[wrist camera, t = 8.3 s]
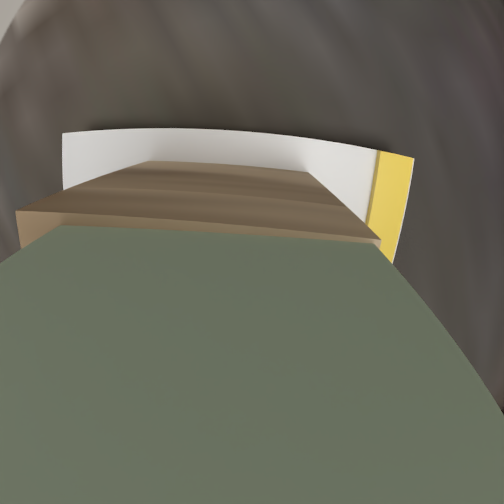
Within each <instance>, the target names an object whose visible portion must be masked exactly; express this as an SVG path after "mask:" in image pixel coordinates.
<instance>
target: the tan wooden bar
mask: <svg viewBox="0 0 504 504" xmlns="http://www.w3.org/2000/svg"><path fill="white" fill-rule="evenodd" d="M16 218H17V226H18V232H19V239H20V245H21V249H22V248H24V247H25V246H27V245H29V244H30V243H32V242H33V241H35V240H37V239H38V238H40V237H41V236H43V235H45V234H46V233H48V232H50V231H51V230H53V229H55V228H56V227H58V226H60V225H69V226H95V227H118V228H140V229H160V230H179V231H197V232H215V233H231V234H247V235H263V236H278V237H293V238H307V239H321V240H334V241H347V242H360V243H373V244H375V245H376V246H377V247H378V249H380V245H381V241H382V240H381V239H380V238H379V237H378V236H377V235H376V234H375V233H374V232H373V231H372V230H371V229H370V228H369V227H368V226H367V225H366V224H365V223H364V222H363V221H362V220H361V219H360V218H359V217H358V216H356V215H355V214H354V213H353V212H352V211H351V210H350V209H349V208H348V207H347V206H346V205H345V204H344V203H343V202H341V201H340V200H339V199H338V198H337V197H336V196H335V195H334V194H333V193H331V192H330V191H329V190H328V189H327V188H326V187H325V186H324V185H322V184H321V183H320V182H319V181H318V180H317V179H316V178H314V177H313V176H312V175H311V174H310V173H309V172H302V171H293V170H285V169H275V168H265V167H255V166H243V165H230V164H216V163H198V162H176V161H146V162H142V163H139V164H136V165H133V166H130V167H127V168H123V169H120V170H117V171H114V172H111V173H108V174H106V175H103V176H100V177H97V178H94V179H91V180H89V181H86V182H83V183H81V184H78V185H75V186H73V187H70V188H68V189H65V190H62V191H60V192H57V193H55V194H53V195H50V196H48V197H45V198H43V199H41V200H38V201H36V202H34V203H31V204H29V205H27V206H25V207H23V208H20V209H18V210H16Z"/></svg>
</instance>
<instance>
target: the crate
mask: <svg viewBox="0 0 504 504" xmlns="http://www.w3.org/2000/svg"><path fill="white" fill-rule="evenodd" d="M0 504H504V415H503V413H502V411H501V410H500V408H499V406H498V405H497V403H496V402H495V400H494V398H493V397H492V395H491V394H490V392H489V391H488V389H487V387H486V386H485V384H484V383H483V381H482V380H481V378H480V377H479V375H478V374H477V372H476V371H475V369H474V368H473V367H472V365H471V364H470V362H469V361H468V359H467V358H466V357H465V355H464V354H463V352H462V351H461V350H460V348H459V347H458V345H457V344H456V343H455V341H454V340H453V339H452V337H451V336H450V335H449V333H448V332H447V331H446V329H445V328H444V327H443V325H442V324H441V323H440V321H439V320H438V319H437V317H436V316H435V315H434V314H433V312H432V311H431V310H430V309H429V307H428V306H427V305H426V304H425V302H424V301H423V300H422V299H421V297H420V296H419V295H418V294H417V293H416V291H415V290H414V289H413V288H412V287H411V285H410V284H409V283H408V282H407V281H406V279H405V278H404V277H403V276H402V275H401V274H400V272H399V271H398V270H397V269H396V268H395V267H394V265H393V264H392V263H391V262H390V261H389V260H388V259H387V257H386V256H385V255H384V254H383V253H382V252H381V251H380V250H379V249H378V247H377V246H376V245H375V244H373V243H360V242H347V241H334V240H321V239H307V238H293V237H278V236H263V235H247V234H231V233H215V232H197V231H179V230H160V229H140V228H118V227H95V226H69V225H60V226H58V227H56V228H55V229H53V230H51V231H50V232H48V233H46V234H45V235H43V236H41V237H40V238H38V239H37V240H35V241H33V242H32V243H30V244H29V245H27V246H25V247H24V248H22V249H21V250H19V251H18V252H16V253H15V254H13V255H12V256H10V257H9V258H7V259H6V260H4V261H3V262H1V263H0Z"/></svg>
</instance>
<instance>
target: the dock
mask: <svg viewBox="0 0 504 504" xmlns="http://www.w3.org/2000/svg"><path fill="white" fill-rule="evenodd" d="M146 161H176V162H198V163H216V164H230V165H243V166H255V167H265V168H275V169H285V170H293V171H302V172H309V173H310V174H311V175H312V176H313V177H314V178H316V179H317V180H318V181H319V182H320V183H321V184H322V185H324V186H325V187H326V188H327V189H328V190H329V191H330V192H331V193H333V194H334V195H335V196H336V197H337V198H338V199H339V200H340V201H341V202H343V203H344V204H345V205H346V206H347V207H348V208H349V209H350V210H351V211H352V212H353V213H354V214H355V215H356V216H358V217H359V218H360V219H361V220H362V221H363V222H364V223H365V224H366V225H367V226H368V227H369V228H370V229H371V230H372V231H373V232H374V233H375V234H376V235H377V236H378V237H379V238H380V239H381V240H382V241H381V245H380V249H379V250H380V251H381V252H382V253H383V254H384V255H385V256H386V257H387V259H388V260H389V261H390V262H391V263H393V260H394V256H395V252H396V248H397V244H398V240H399V236H400V232H401V227H402V223H403V218H404V214H405V209H406V204H407V199H408V194H409V188H410V183H411V177H412V171H413V165H414V158H410V157H406V156H402V155H398V154H393V153H389V152H384V151H379V150H374V149H369V148H364V147H359V146H354V145H348V144H342V143H336V142H330V141H324V140H317V139H310V138H303V137H295V136H287V135H278V134H268V133H257V132H246V131H232V130H214V129H186V128H141V129H113V130H96V131H83V132H72V133H63V135H62V168H63V190H65V189H68V188H70V187H73V186H75V185H78V184H81V183H83V182H86V181H89V180H91V179H94V178H97V177H100V176H103V175H106V174H108V173H111V172H114V171H117V170H120V169H123V168H127V167H130V166H133V165H136V164H139V163H142V162H146Z"/></svg>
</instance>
